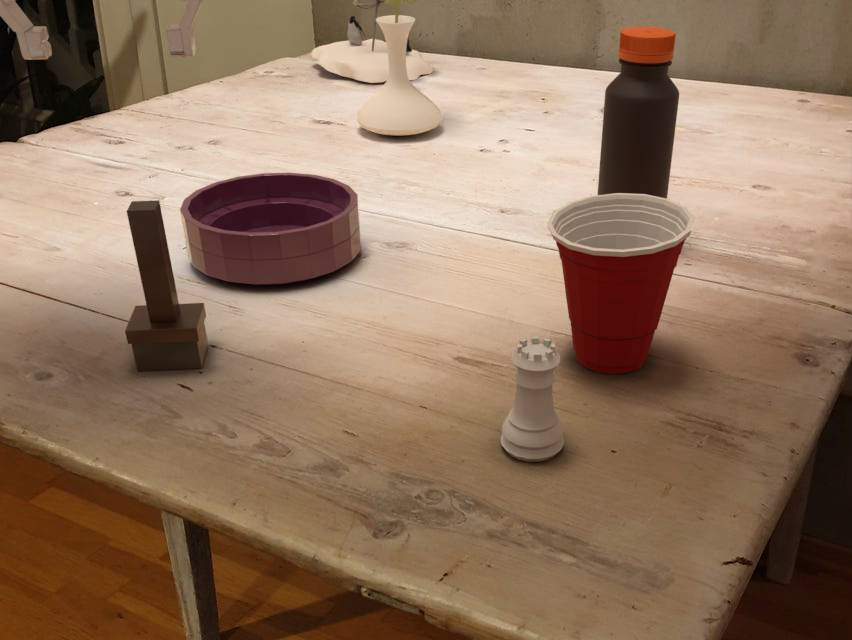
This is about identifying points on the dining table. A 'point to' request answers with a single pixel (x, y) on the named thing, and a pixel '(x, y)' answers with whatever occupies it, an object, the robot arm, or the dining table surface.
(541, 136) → the dining table surface
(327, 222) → the bowl
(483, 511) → the dining table surface
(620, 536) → the dining table surface
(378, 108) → the flower in vase
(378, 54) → the figurine
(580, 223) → the plastic cup
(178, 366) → the brush
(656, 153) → the bottle
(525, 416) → the rook chess piece
